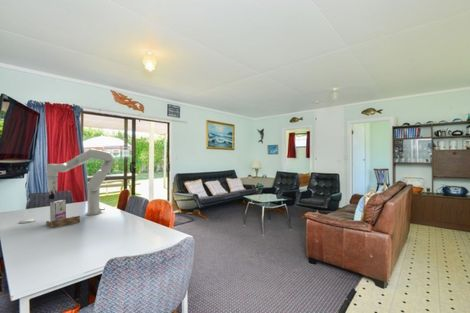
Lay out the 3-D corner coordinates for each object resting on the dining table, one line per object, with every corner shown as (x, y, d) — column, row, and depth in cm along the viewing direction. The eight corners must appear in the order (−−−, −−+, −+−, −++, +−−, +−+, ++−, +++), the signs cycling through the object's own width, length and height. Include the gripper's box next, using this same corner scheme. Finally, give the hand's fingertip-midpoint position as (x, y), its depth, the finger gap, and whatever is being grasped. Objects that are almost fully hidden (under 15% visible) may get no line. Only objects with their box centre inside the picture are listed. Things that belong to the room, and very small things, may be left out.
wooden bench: (73, 219, 195) (73, 213, 195) (79, 222, 186) (79, 216, 186) (46, 224, 180) (46, 218, 180) (51, 227, 172) (51, 220, 172)
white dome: (33, 219, 195) (33, 217, 195) (37, 221, 189) (37, 219, 189) (18, 221, 187) (18, 220, 187) (20, 224, 181) (20, 222, 181)
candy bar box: (60, 218, 196) (60, 199, 197) (66, 219, 196) (66, 199, 196) (49, 222, 185) (49, 202, 185) (55, 222, 185) (55, 202, 185)
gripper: (60, 178, 199) (59, 199, 198) (54, 177, 208) (54, 197, 207) (49, 178, 193) (48, 200, 192) (44, 177, 202) (43, 198, 201)
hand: (51, 198), depth 200 cm, fingers closed
